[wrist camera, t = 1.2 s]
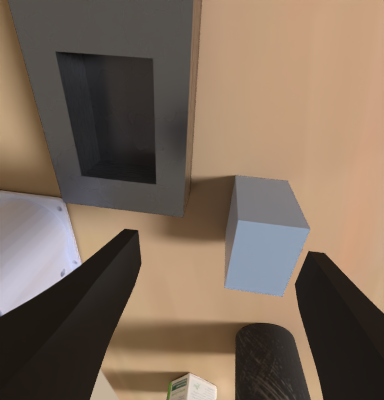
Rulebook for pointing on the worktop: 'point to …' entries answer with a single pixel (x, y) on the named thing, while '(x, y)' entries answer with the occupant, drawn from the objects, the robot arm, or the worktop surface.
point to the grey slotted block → (115, 97)
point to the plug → (263, 235)
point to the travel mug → (268, 365)
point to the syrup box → (191, 389)
